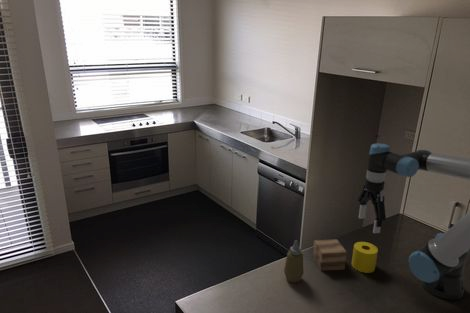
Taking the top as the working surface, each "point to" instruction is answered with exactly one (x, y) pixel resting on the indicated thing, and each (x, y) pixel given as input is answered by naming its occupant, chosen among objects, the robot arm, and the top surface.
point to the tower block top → (329, 250)
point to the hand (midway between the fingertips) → (368, 225)
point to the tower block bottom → (328, 264)
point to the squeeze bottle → (294, 264)
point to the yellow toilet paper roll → (364, 257)
